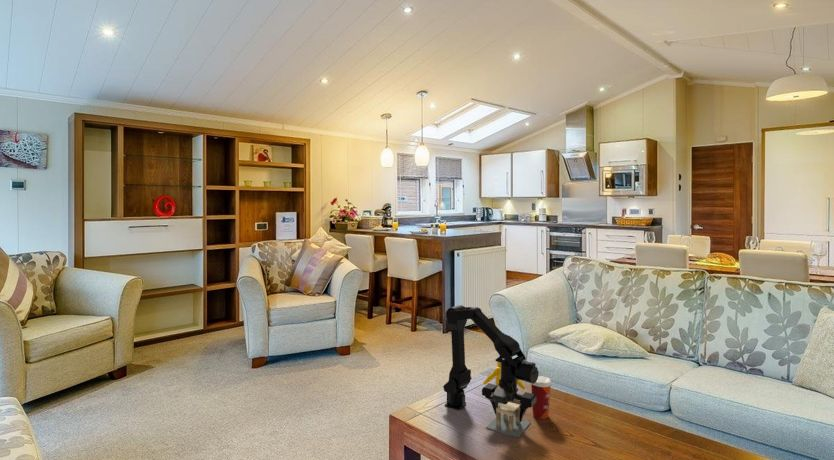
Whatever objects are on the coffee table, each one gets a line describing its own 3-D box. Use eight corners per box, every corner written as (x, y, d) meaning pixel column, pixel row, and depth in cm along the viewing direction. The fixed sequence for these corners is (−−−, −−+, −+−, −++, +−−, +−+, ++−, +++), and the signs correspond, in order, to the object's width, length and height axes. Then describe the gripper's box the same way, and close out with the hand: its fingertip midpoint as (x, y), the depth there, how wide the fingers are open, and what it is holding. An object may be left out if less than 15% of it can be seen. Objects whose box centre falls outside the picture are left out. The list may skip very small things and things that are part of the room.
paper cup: (552, 421, 167) (552, 384, 166) (530, 419, 169) (530, 382, 168) (550, 411, 175) (550, 376, 174) (529, 409, 176) (530, 374, 175)
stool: (504, 418, 169) (504, 400, 168) (520, 422, 165) (520, 404, 165) (496, 426, 163) (496, 408, 162) (511, 431, 159) (512, 412, 159)
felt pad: (485, 428, 162) (485, 427, 162) (499, 414, 172) (499, 413, 172) (518, 437, 156) (518, 436, 156) (530, 423, 166) (530, 422, 166)
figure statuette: (481, 392, 192) (482, 341, 191) (485, 385, 200) (485, 336, 198) (524, 398, 186) (525, 345, 185) (526, 391, 194) (527, 340, 192)
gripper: (475, 377, 161) (474, 420, 162) (525, 389, 151) (525, 435, 152) (488, 367, 171) (488, 408, 172) (537, 378, 160) (536, 421, 161)
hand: (508, 417), depth 164 cm, fingers open, 9 cm apart
